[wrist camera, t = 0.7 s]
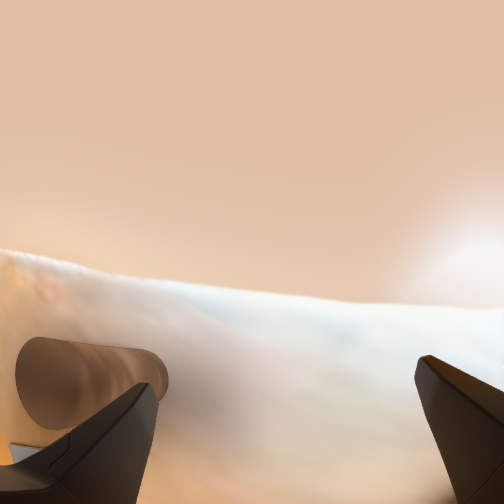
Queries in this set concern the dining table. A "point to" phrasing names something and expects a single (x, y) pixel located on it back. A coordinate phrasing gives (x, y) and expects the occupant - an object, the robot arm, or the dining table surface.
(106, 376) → the walnut peg
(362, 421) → the dining table surface
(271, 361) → the dining table surface
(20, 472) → the robot arm
